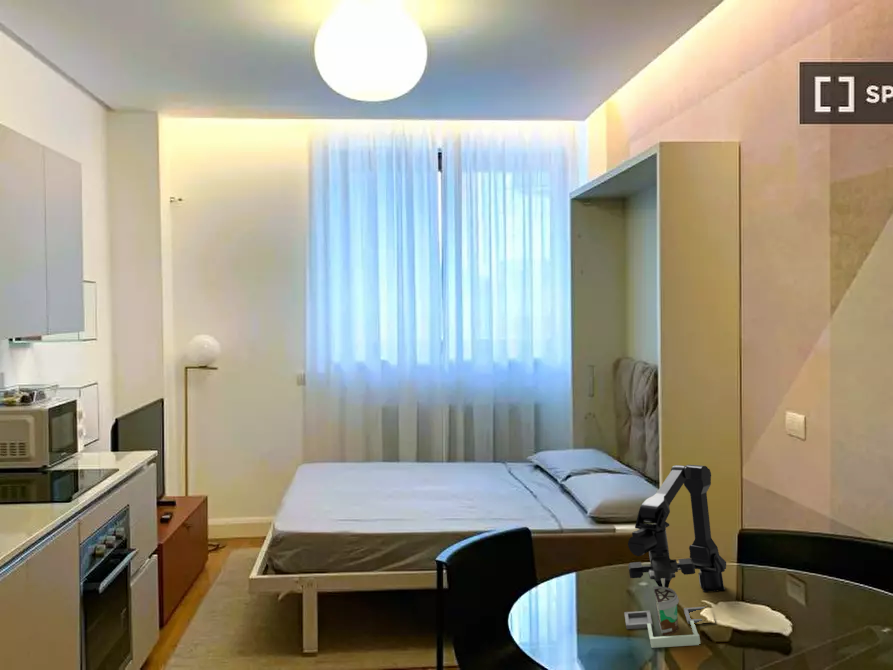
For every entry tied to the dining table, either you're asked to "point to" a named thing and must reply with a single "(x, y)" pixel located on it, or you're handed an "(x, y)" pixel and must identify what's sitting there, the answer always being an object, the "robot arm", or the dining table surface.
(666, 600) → the food container
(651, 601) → the dining table surface
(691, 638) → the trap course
